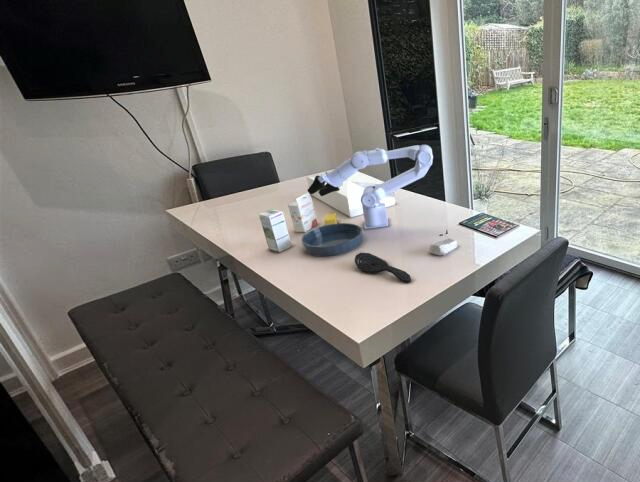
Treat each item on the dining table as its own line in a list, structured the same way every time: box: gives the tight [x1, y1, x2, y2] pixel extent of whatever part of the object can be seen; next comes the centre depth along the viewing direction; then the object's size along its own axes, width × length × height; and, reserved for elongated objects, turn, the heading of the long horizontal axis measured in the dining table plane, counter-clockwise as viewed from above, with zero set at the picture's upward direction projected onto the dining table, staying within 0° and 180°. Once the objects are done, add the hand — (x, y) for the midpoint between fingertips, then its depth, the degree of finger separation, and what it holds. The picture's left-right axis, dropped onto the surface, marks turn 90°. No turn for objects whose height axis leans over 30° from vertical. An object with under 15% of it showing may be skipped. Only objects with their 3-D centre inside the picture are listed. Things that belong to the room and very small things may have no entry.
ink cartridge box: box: [287, 191, 318, 233], centre depth 166 cm, size 9×5×15 cm, turn 168°
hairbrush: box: [354, 250, 412, 283], centre depth 135 cm, size 8×4×25 cm
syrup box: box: [258, 209, 292, 253], centre depth 149 cm, size 6×6×14 cm
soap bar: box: [429, 237, 458, 256], centre depth 148 cm, size 10×6×6 cm, turn 134°
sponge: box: [323, 212, 338, 226], centre depth 170 cm, size 4×7×4 cm, turn 19°
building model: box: [306, 170, 396, 218], centre depth 199 cm, size 45×22×10 cm, turn 46°
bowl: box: [301, 222, 364, 257], centre depth 154 cm, size 21×21×4 cm
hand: (314, 193), depth 162 cm, fingers open, 7 cm apart
